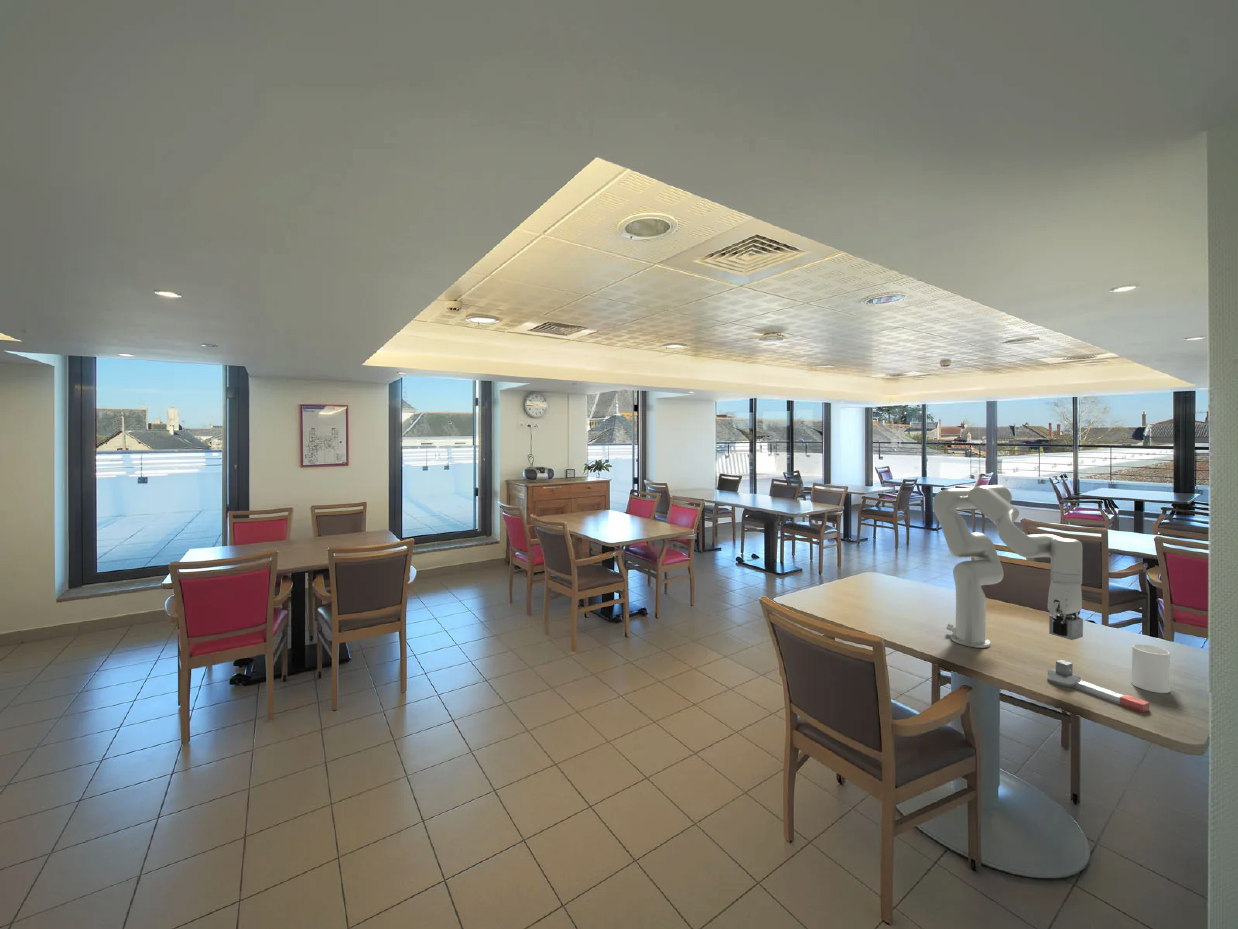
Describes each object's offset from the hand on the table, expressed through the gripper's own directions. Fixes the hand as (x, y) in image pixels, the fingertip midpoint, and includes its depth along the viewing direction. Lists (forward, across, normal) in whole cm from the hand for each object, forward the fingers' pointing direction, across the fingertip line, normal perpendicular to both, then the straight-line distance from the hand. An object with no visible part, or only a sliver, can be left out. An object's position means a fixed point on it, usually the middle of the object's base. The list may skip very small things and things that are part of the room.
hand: (1065, 632), depth 159 cm
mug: (+17, -22, +13) cm, 30 cm away
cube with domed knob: (+1, 0, 0) cm, 1 cm away
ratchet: (+16, 0, +7) cm, 18 cm away
